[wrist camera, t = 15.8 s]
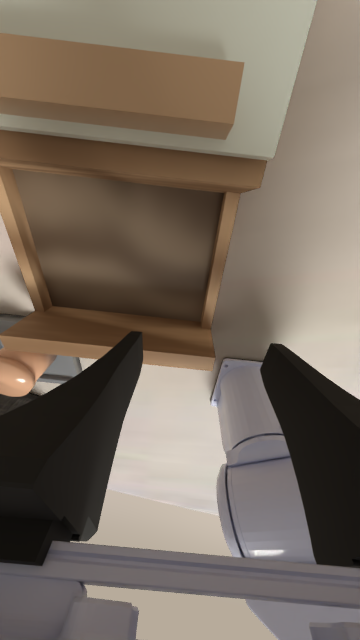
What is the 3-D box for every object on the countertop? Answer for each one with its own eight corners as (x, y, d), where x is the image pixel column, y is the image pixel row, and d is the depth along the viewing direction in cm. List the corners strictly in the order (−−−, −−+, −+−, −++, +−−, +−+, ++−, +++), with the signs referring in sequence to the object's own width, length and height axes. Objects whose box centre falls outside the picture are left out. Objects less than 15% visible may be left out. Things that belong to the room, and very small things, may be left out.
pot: (61, 367, 25) (34, 400, 21) (19, 360, 25) (-16, 392, 21) (55, 336, 22) (23, 366, 18) (9, 328, 22) (-35, 356, 18)
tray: (84, 378, 27) (80, 385, 26) (15, 371, 27) (8, 378, 26) (69, 321, 22) (63, 326, 21) (-16, 312, 22) (-26, 317, 21)
